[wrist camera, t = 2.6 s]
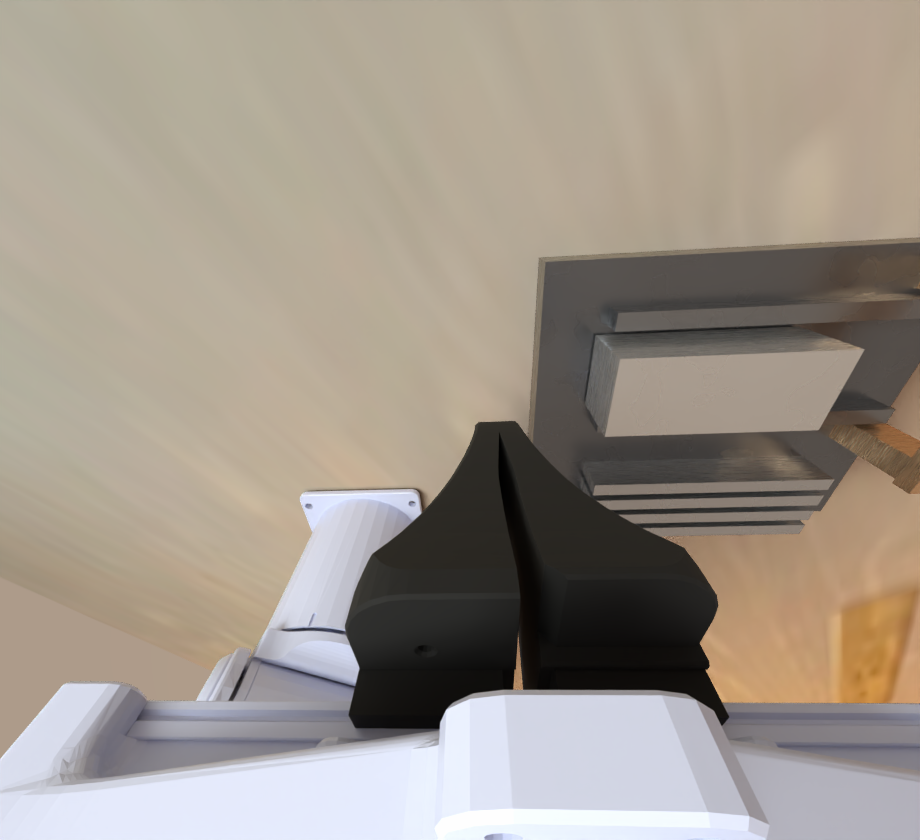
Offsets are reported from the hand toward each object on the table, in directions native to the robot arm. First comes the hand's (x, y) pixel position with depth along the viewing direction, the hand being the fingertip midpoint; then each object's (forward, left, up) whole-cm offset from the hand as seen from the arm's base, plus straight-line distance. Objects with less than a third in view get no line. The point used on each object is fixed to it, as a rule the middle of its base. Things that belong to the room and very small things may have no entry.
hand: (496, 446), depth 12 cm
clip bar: (0, -9, -6) cm, 11 cm away
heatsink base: (-3, -11, -8) cm, 14 cm away
